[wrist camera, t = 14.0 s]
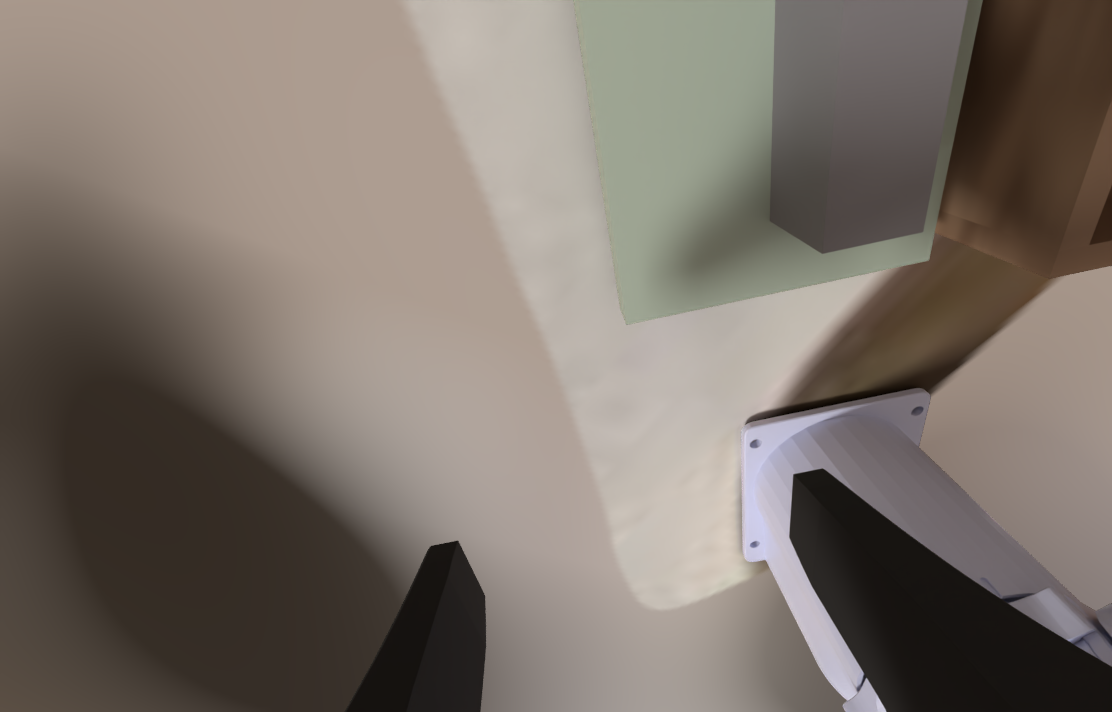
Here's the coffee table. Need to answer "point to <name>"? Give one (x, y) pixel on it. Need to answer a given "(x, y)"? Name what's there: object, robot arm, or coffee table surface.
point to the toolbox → (1035, 138)
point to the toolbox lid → (769, 140)
